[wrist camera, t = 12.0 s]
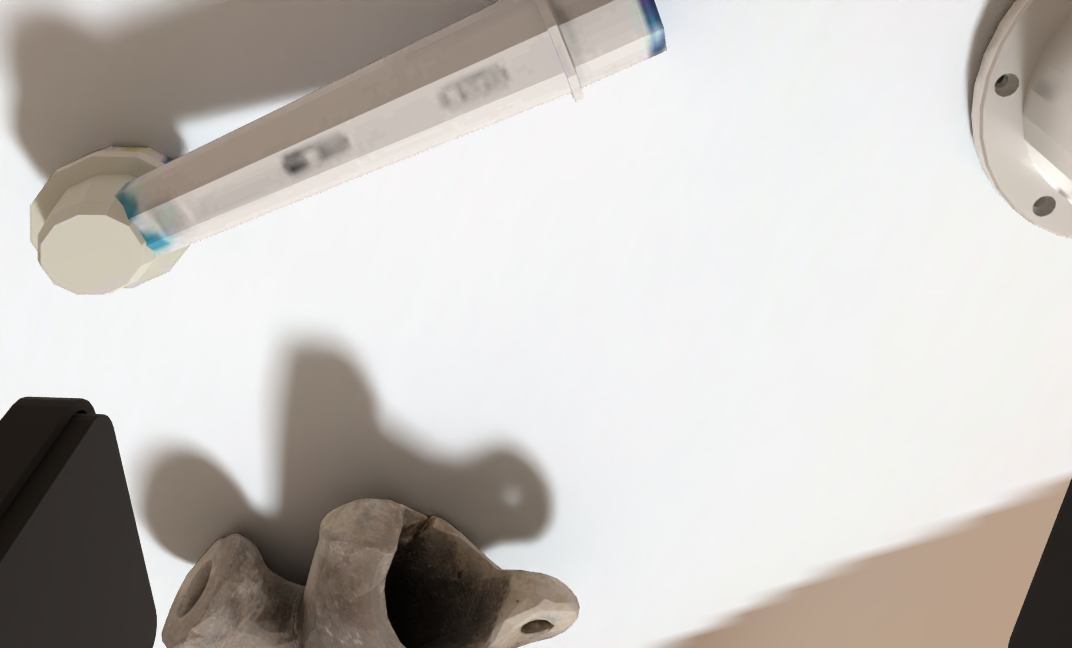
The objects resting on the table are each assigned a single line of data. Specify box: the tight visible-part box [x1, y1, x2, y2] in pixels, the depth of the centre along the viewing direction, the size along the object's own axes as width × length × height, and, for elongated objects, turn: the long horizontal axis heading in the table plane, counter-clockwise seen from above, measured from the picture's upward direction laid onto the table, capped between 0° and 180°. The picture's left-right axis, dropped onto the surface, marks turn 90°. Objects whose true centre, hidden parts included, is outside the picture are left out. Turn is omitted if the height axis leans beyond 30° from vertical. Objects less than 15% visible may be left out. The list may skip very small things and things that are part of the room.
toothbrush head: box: [30, 0, 667, 294], centre depth 37 cm, size 5×7×25 cm
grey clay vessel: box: [162, 498, 580, 648], centre depth 49 cm, size 16×9×15 cm
